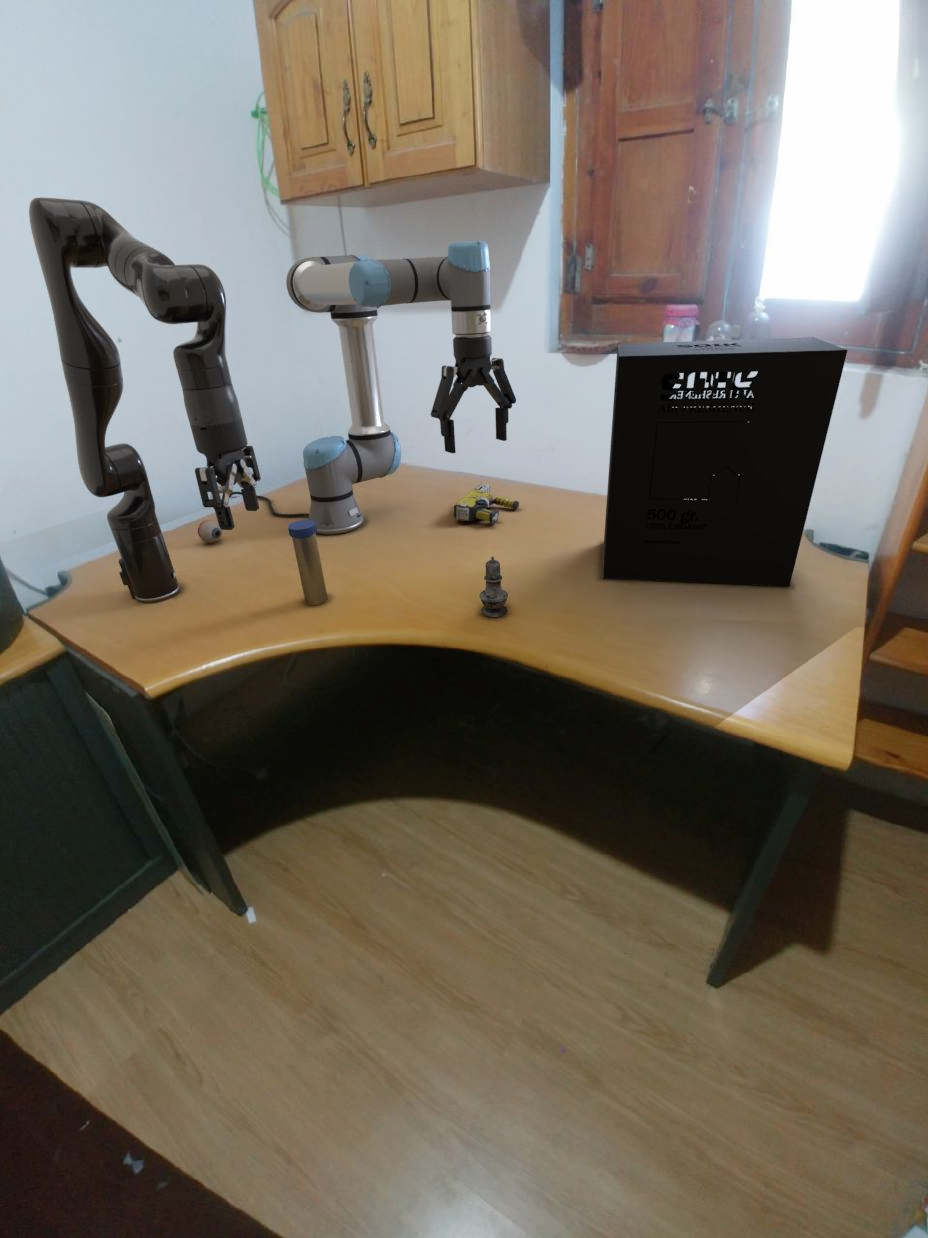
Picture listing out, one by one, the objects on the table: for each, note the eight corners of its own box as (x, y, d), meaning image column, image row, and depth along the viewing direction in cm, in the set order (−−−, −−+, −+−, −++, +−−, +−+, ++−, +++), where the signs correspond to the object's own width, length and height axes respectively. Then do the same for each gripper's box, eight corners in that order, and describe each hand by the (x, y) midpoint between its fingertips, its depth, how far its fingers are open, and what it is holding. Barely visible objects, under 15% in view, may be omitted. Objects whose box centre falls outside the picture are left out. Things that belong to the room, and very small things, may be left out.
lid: (309, 525, 126) (307, 517, 125) (322, 532, 122) (320, 524, 121) (284, 533, 123) (282, 524, 122) (297, 540, 119) (295, 531, 118)
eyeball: (211, 547, 159) (205, 526, 156) (196, 543, 162) (190, 522, 159) (229, 539, 163) (224, 518, 160) (214, 536, 166) (209, 515, 164)
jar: (321, 593, 133) (307, 520, 125) (331, 600, 130) (318, 526, 122) (301, 600, 131) (286, 526, 122) (312, 607, 128) (296, 532, 119)
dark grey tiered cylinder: (506, 618, 119) (505, 563, 113) (477, 616, 120) (474, 562, 114) (510, 604, 124) (509, 550, 118) (482, 602, 125) (480, 549, 119)
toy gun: (527, 488, 179) (479, 481, 183) (505, 513, 159) (452, 504, 162) (525, 503, 181) (478, 496, 185) (503, 529, 161) (451, 520, 165)
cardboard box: (767, 547, 142) (813, 337, 119) (789, 586, 125) (847, 349, 102) (603, 542, 149) (617, 343, 127) (603, 578, 132) (618, 356, 110)
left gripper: (216, 408, 98) (240, 504, 106) (165, 429, 86) (196, 535, 94) (259, 407, 96) (280, 504, 104) (213, 428, 84) (241, 536, 92)
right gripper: (429, 342, 108) (437, 460, 118) (533, 329, 120) (532, 437, 131) (407, 340, 113) (417, 454, 124) (508, 328, 125) (510, 432, 136)
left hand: (240, 519), depth 99 cm, fingers open, 8 cm apart
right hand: (476, 445), depth 127 cm, fingers open, 13 cm apart
